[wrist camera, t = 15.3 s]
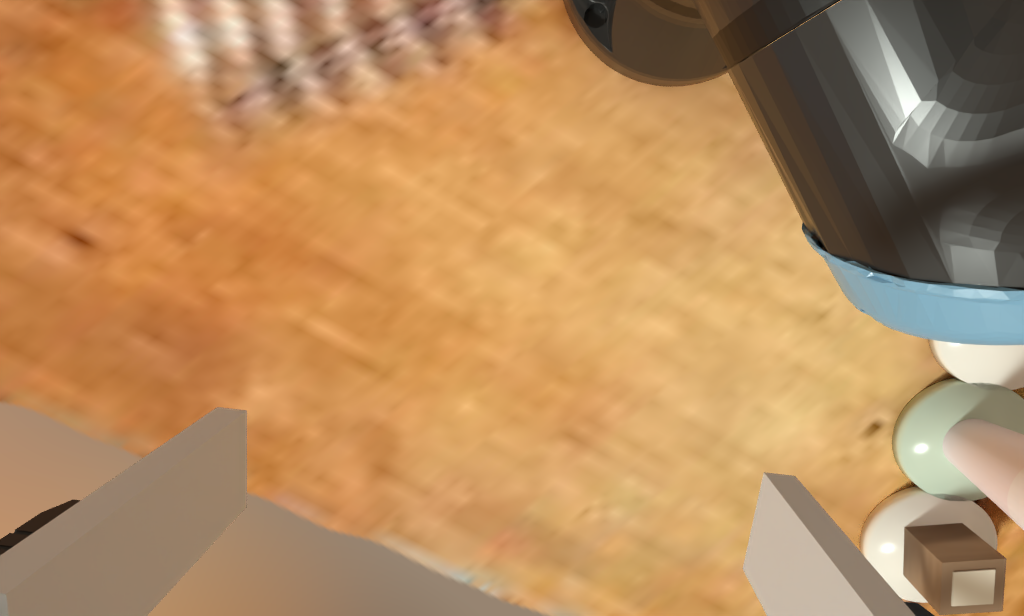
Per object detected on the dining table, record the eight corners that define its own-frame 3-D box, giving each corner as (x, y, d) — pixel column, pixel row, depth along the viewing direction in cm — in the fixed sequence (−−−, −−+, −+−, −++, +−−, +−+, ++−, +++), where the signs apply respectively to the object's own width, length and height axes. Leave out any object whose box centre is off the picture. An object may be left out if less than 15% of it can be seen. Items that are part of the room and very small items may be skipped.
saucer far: (878, 476, 42) (888, 484, 41) (1001, 495, 42) (1015, 504, 40) (845, 580, 44) (853, 591, 43) (962, 600, 44) (974, 611, 42)
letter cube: (904, 526, 41) (943, 563, 37) (962, 522, 41) (1007, 559, 37) (903, 574, 42) (940, 616, 38) (959, 571, 42) (1003, 612, 38)
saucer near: (951, 248, 38) (964, 250, 37) (1086, 268, 38) (1103, 271, 37) (911, 374, 40) (922, 379, 39) (1039, 394, 40) (1054, 400, 39)
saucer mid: (913, 367, 40) (924, 373, 39) (1042, 387, 40) (1057, 393, 38) (876, 482, 42) (886, 490, 41) (999, 501, 42) (1012, 510, 40)
